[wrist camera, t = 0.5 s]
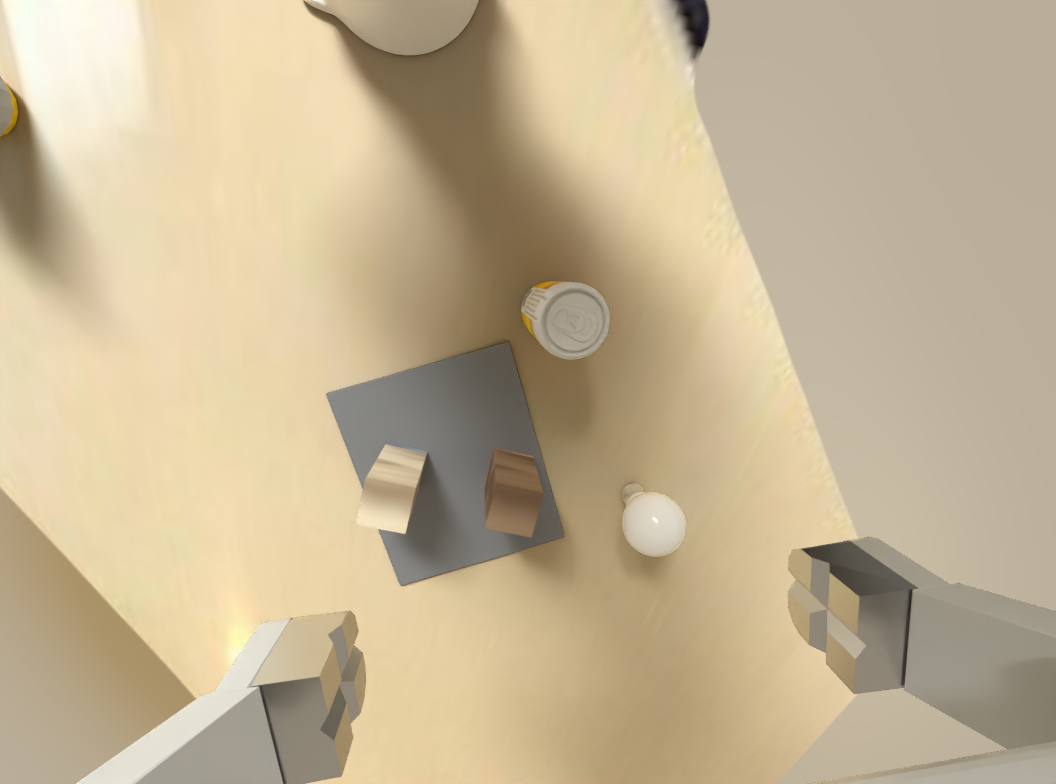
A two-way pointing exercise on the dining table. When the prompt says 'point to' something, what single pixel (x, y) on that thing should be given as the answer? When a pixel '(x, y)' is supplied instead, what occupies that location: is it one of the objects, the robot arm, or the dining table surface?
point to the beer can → (566, 318)
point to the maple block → (391, 488)
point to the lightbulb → (652, 521)
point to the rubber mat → (447, 455)
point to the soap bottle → (7, 109)
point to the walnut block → (512, 493)
